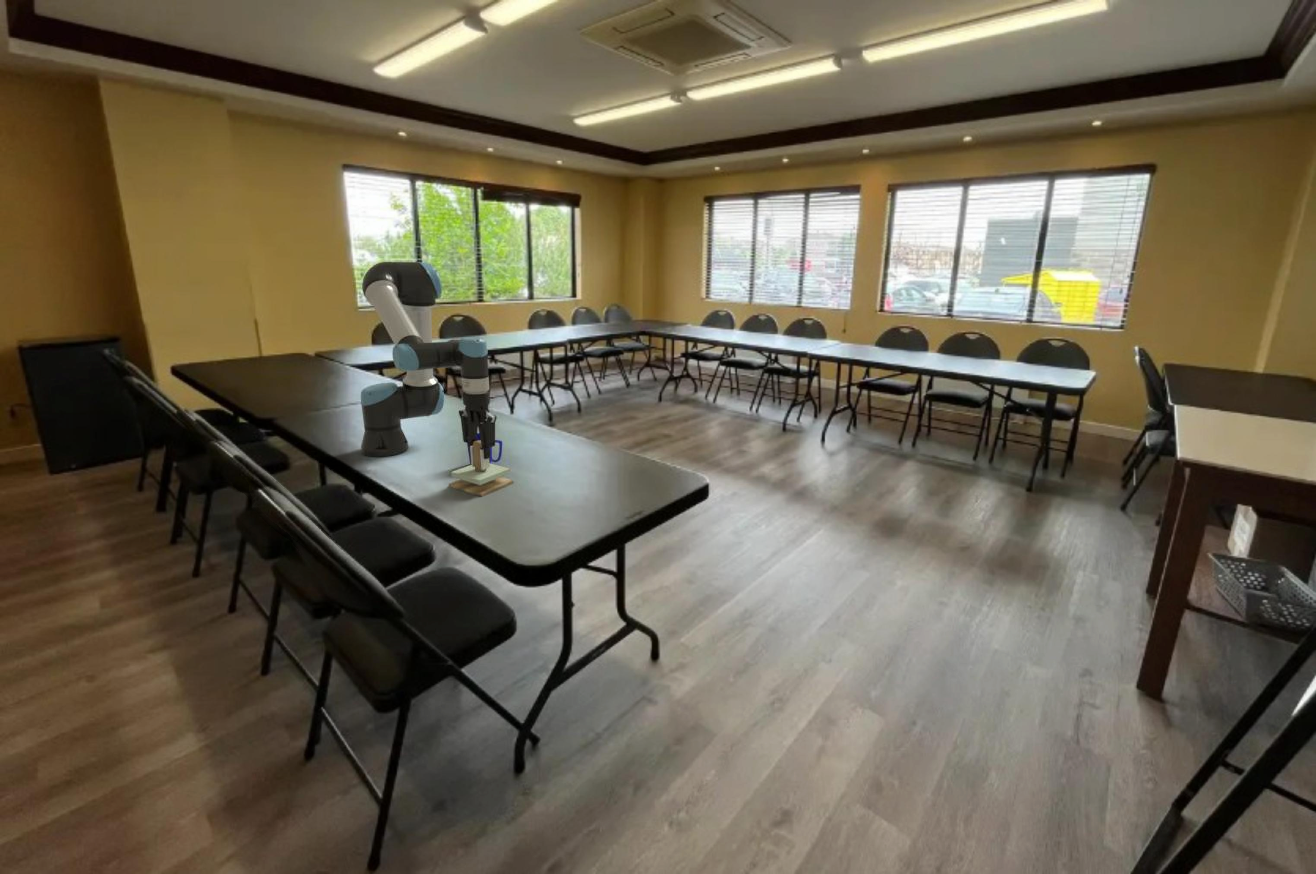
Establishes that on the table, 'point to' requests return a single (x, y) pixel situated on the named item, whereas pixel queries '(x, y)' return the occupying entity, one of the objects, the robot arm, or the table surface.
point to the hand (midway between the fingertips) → (480, 466)
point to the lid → (479, 469)
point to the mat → (481, 486)
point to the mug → (490, 450)
